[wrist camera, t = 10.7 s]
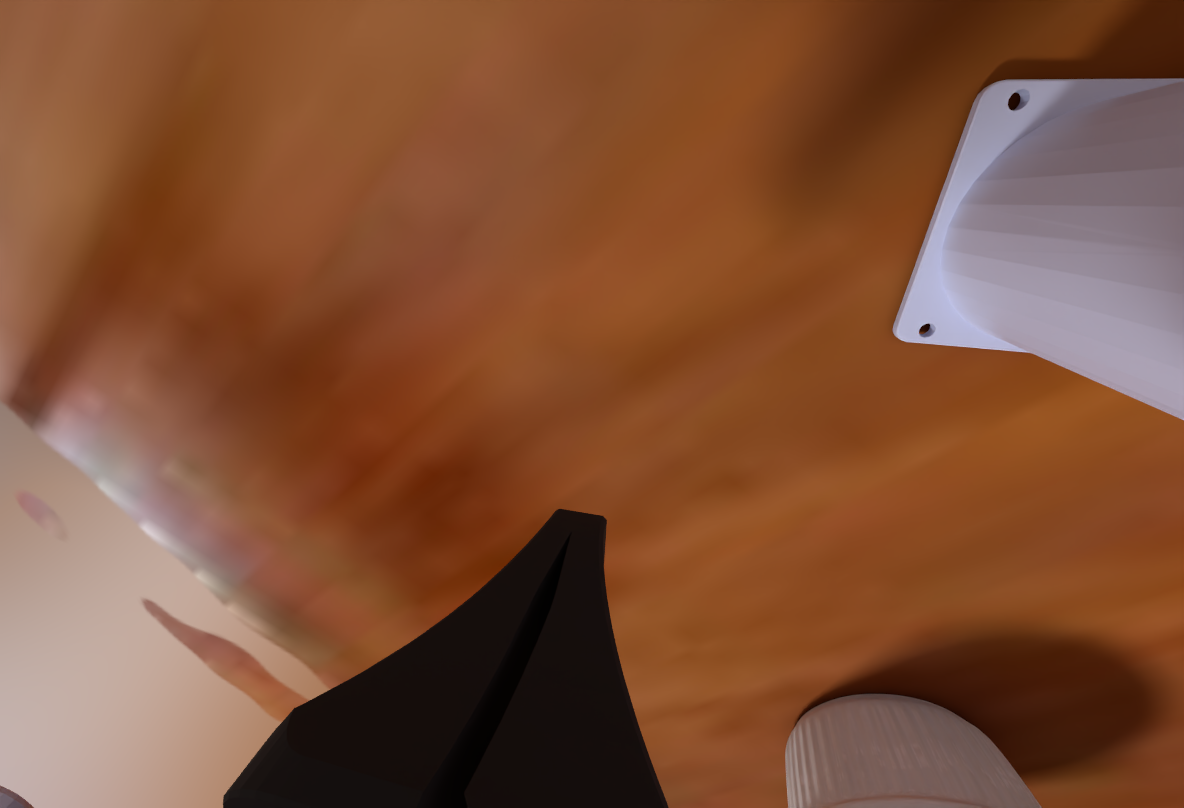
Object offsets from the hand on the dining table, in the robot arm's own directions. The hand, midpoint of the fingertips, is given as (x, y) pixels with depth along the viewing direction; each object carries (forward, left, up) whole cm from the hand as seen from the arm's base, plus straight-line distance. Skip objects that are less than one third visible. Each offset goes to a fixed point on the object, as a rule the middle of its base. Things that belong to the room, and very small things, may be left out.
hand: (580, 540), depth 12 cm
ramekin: (-18, +22, -10) cm, 30 cm away
